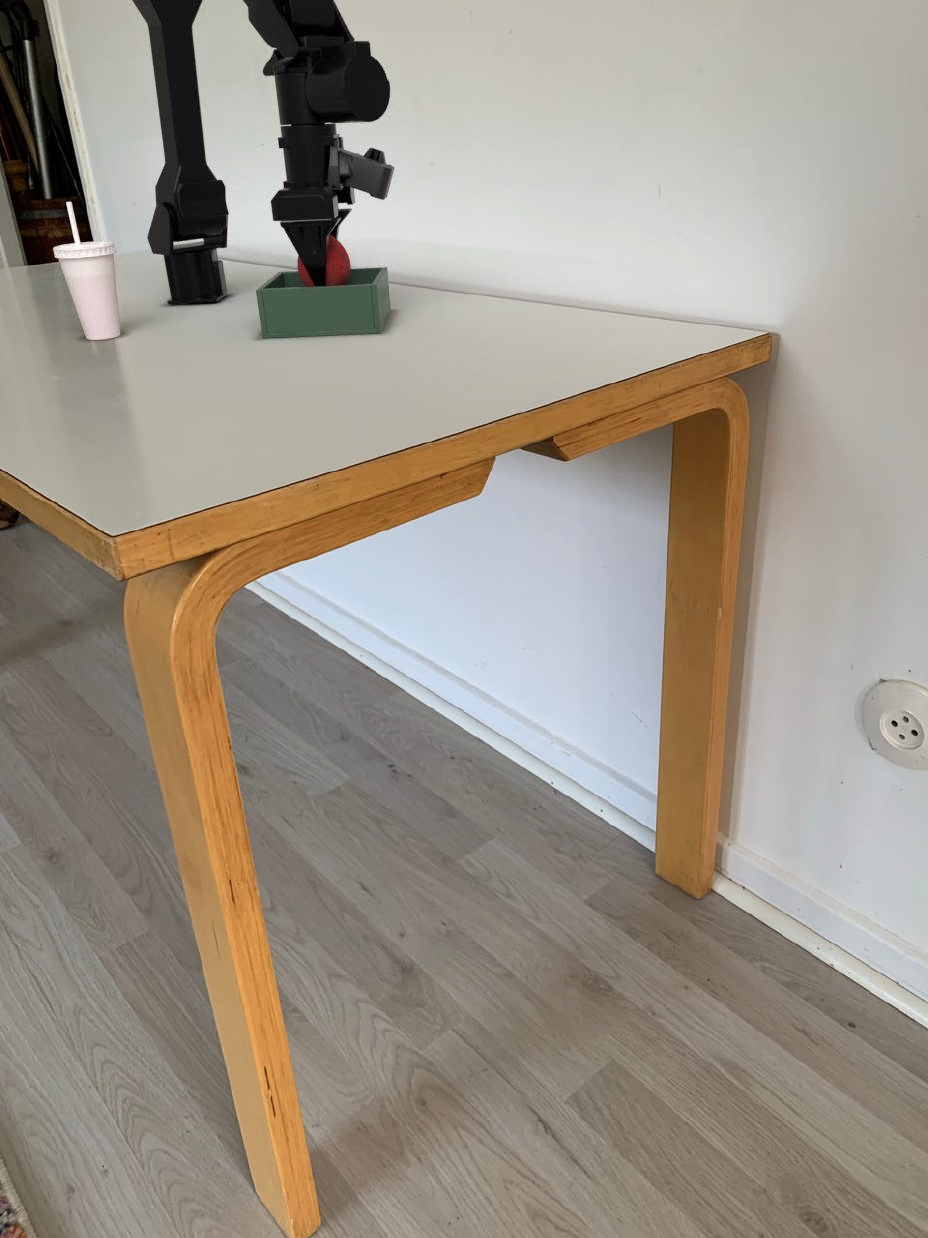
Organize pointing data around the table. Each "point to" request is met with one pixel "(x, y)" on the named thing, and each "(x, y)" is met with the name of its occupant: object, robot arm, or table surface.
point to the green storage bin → (324, 305)
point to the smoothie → (91, 283)
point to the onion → (330, 265)
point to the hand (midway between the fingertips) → (324, 282)
